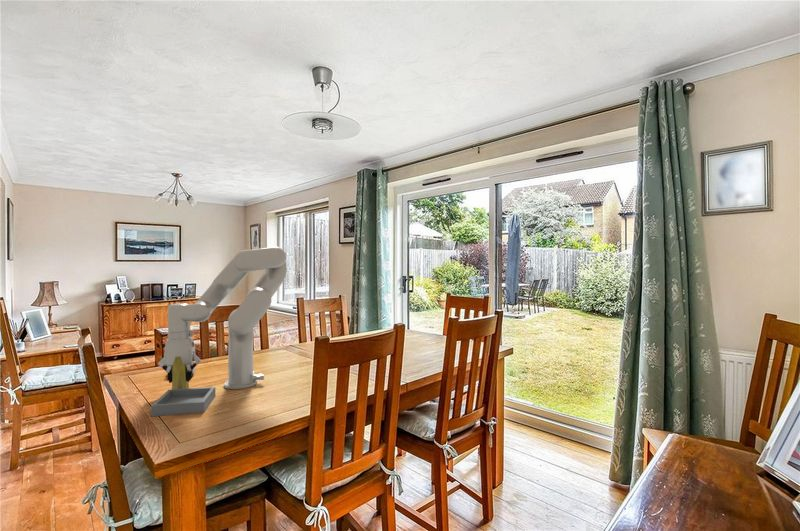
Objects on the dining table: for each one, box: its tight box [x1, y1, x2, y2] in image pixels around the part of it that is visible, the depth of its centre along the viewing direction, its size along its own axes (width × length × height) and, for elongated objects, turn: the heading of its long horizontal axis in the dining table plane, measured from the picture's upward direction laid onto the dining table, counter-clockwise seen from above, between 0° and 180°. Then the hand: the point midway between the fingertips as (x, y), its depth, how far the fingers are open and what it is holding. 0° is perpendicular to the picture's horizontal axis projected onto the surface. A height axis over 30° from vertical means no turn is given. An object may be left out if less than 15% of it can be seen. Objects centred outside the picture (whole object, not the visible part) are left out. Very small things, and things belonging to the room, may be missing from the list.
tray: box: [150, 386, 216, 417], centre depth 136 cm, size 16×16×4 cm
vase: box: [171, 356, 190, 390], centre depth 150 cm, size 6×6×14 cm
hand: (180, 380), depth 150 cm, fingers closed on vase, 5 cm apart
